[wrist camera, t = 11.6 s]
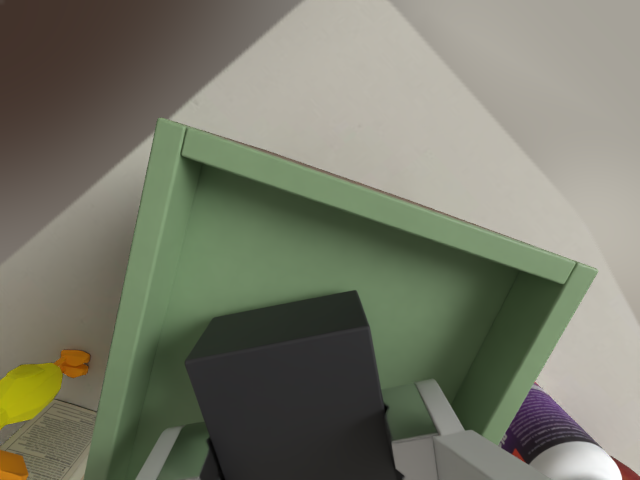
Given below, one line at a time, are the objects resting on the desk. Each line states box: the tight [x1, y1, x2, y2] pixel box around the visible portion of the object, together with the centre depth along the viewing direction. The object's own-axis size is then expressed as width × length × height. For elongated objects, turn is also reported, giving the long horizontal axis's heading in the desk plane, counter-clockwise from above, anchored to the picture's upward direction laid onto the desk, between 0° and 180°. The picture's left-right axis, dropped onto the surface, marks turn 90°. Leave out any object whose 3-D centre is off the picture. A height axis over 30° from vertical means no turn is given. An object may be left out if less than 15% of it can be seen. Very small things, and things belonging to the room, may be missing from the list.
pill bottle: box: [498, 382, 622, 480], centre depth 20 cm, size 5×5×10 cm
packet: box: [185, 290, 395, 480], centre depth 8 cm, size 6×4×2 cm, turn 11°
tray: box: [83, 118, 598, 480], centre depth 15 cm, size 12×10×14 cm
